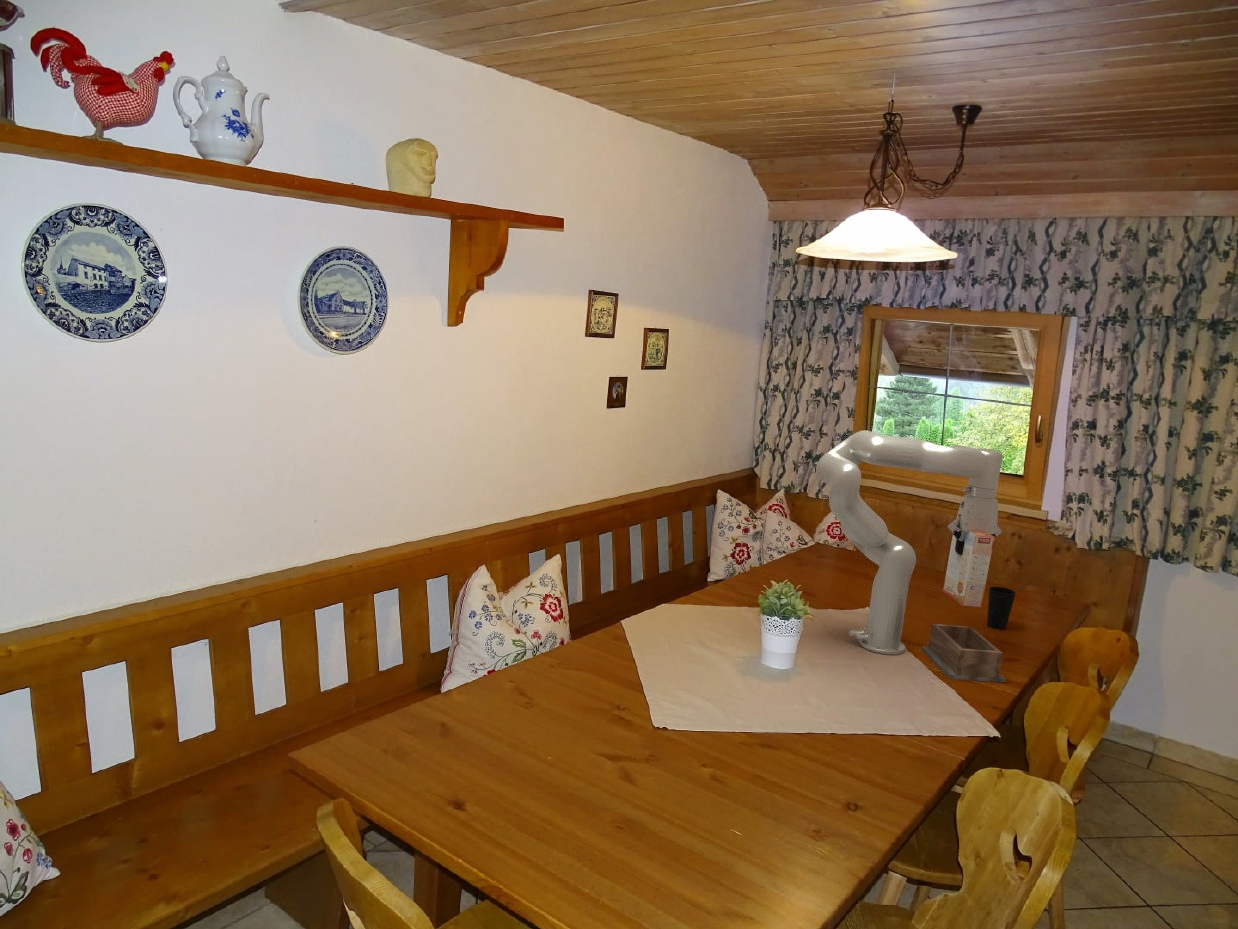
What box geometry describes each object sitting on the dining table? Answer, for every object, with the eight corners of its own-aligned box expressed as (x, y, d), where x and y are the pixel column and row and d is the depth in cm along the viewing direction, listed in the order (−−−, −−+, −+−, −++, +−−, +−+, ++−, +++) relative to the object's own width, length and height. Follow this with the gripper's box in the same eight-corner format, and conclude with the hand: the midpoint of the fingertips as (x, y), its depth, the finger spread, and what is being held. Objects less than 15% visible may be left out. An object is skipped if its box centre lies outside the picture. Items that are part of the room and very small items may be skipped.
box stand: (949, 678, 232) (954, 649, 230) (921, 649, 251) (925, 622, 250) (1005, 682, 232) (1010, 654, 231) (972, 653, 252) (977, 626, 251)
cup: (1005, 633, 272) (1012, 596, 270) (980, 626, 277) (986, 589, 275) (1012, 627, 278) (1018, 591, 276) (987, 620, 283) (993, 584, 281)
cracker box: (982, 609, 246) (995, 536, 242) (961, 607, 245) (974, 534, 242) (962, 593, 260) (974, 524, 256) (942, 591, 259) (953, 522, 256)
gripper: (958, 492, 243) (946, 555, 246) (1017, 498, 244) (1005, 561, 247) (946, 487, 250) (935, 548, 253) (1003, 492, 252) (992, 553, 255)
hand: (970, 554), depth 250 cm, fingers closed on cracker box, 6 cm apart
